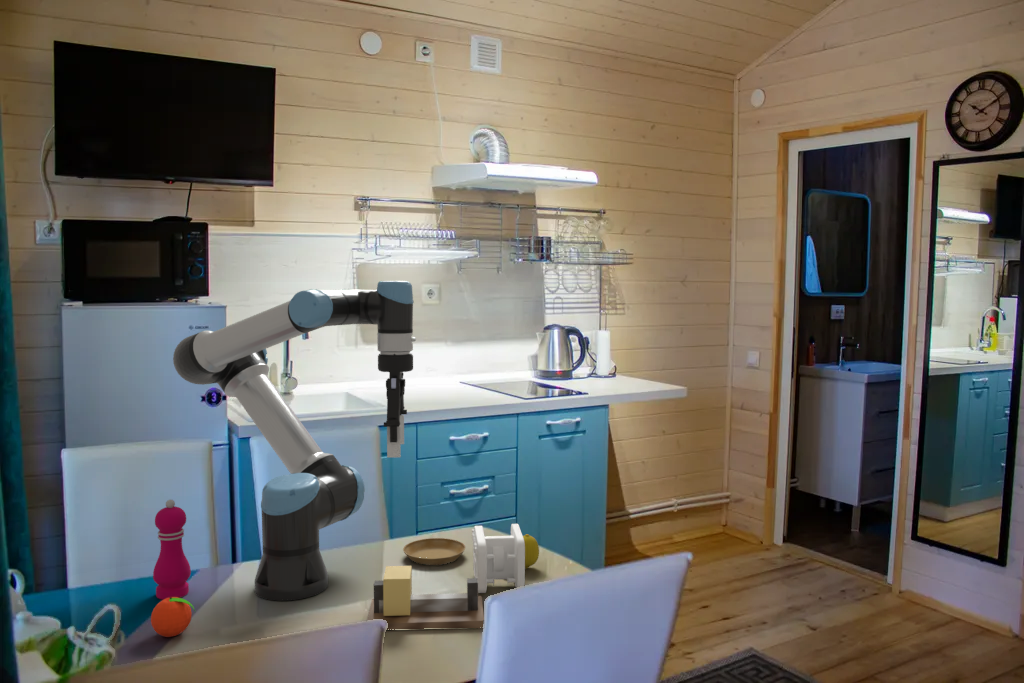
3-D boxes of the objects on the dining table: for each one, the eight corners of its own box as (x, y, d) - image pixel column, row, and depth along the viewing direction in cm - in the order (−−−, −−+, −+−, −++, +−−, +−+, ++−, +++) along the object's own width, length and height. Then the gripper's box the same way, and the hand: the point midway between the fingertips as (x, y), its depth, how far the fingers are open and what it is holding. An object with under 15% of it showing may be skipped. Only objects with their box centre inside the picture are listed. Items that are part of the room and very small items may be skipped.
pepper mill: (147, 594, 166) (145, 499, 164) (181, 584, 171) (179, 493, 170) (162, 603, 161) (160, 506, 159) (197, 593, 166) (195, 499, 165)
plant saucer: (428, 574, 179) (428, 562, 179) (390, 557, 190) (390, 546, 189) (478, 559, 189) (478, 548, 189) (440, 544, 200) (440, 534, 199)
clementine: (204, 627, 150) (203, 590, 150) (188, 643, 143) (187, 605, 143) (162, 626, 150) (160, 590, 150) (144, 643, 143) (143, 604, 143)
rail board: (366, 631, 148) (365, 595, 148) (372, 605, 160) (371, 571, 160) (484, 628, 150) (484, 592, 150) (481, 602, 162) (481, 569, 162)
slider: (383, 615, 151) (383, 579, 151) (386, 601, 158) (386, 566, 157) (410, 615, 151) (409, 578, 151) (411, 600, 158) (411, 565, 158)
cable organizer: (525, 597, 165) (526, 542, 165) (475, 599, 164) (475, 544, 163) (518, 571, 180) (518, 521, 179) (471, 572, 179) (471, 522, 178)
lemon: (543, 567, 183) (543, 533, 182) (530, 574, 178) (530, 539, 178) (523, 562, 186) (523, 528, 185) (509, 569, 181) (510, 535, 181)
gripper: (410, 358, 159) (410, 462, 160) (415, 348, 184) (415, 439, 185) (372, 358, 158) (373, 463, 160) (382, 348, 183) (383, 439, 185)
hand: (396, 450), depth 173 cm, fingers open, 13 cm apart
